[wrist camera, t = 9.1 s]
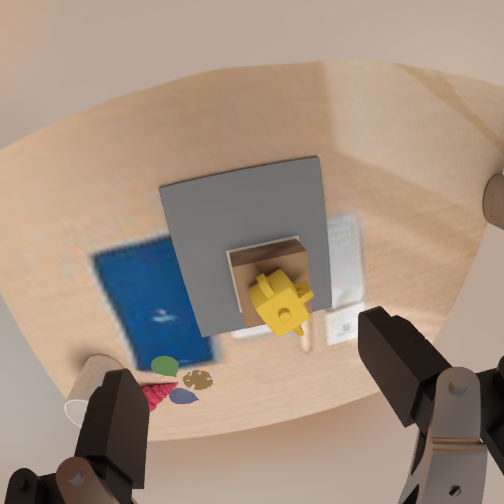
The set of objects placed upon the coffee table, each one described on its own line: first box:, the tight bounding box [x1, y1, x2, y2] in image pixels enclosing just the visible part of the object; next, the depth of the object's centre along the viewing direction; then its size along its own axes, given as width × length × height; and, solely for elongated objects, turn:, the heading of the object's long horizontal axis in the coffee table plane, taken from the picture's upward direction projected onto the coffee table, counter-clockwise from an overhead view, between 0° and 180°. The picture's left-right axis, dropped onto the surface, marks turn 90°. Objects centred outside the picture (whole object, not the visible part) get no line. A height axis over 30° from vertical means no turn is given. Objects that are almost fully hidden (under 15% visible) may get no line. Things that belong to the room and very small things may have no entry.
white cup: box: [64, 355, 123, 428], centre depth 35 cm, size 8×8×10 cm
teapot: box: [249, 269, 314, 337], centre depth 31 cm, size 8×6×5 cm
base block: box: [229, 239, 312, 328], centre depth 35 cm, size 8×8×4 cm
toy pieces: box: [142, 356, 213, 412], centre depth 41 cm, size 12×11×4 cm
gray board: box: [159, 157, 332, 337], centre depth 36 cm, size 18×20×1 cm
